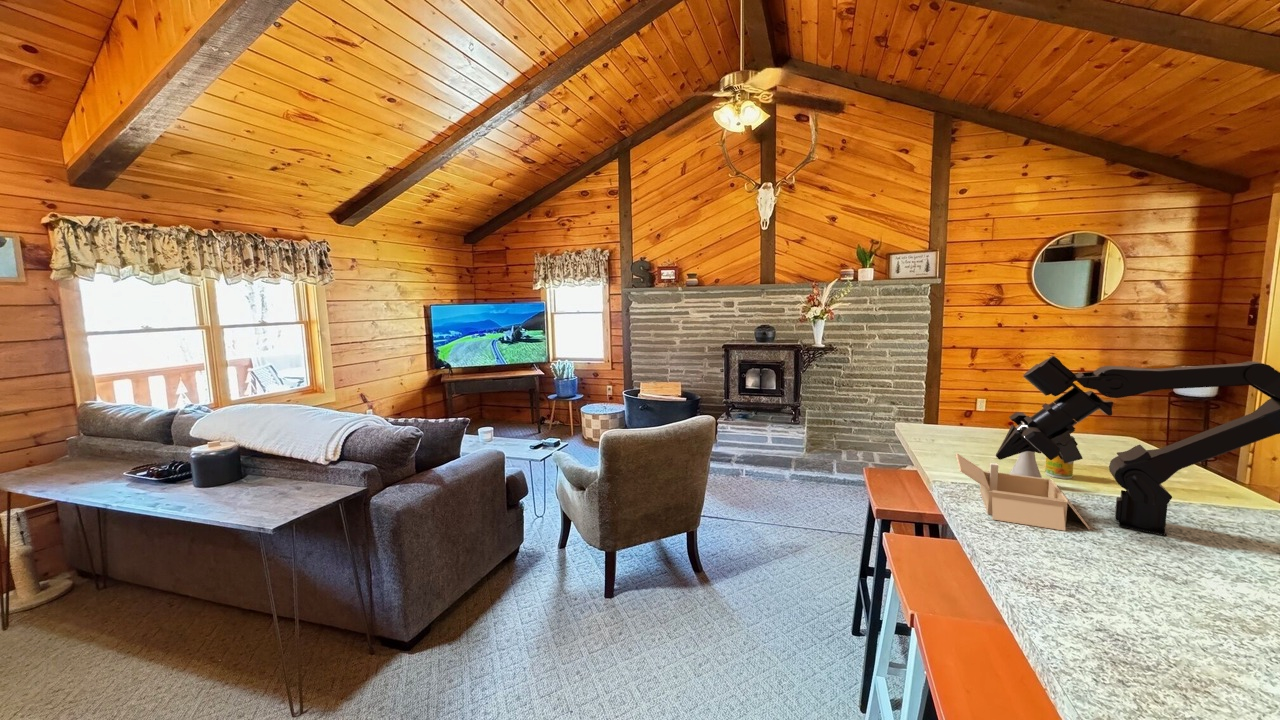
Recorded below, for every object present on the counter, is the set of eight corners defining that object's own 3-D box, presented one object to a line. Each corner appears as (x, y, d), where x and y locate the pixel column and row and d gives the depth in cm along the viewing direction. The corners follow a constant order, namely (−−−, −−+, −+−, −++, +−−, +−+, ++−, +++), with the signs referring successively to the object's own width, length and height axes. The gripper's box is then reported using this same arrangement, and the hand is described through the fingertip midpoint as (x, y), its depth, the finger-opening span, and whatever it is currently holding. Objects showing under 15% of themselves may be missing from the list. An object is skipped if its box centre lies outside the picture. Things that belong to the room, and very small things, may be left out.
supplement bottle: (1040, 474, 127) (1042, 437, 126) (1051, 470, 130) (1054, 434, 129) (1065, 480, 123) (1068, 442, 122) (1076, 477, 125) (1079, 439, 124)
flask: (1052, 489, 118) (1055, 448, 116) (1021, 489, 118) (1024, 448, 117) (1028, 478, 125) (1031, 440, 124) (999, 479, 125) (1002, 440, 124)
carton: (1067, 498, 112) (1068, 476, 111) (1095, 536, 94) (1097, 510, 93) (978, 486, 120) (979, 466, 119) (989, 519, 102) (990, 495, 101)
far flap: (982, 469, 116) (956, 453, 118) (989, 488, 104) (961, 470, 107) (981, 470, 116) (955, 454, 118) (988, 490, 104) (959, 471, 107)
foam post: (995, 493, 115) (997, 463, 115) (996, 495, 114) (998, 465, 113) (988, 492, 116) (990, 462, 115) (989, 494, 115) (991, 464, 114)
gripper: (1116, 455, 92) (1038, 502, 99) (1084, 430, 108) (1019, 472, 115) (1064, 411, 95) (992, 459, 101) (1041, 393, 111) (980, 436, 118)
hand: (997, 457), depth 109 cm, fingers closed
